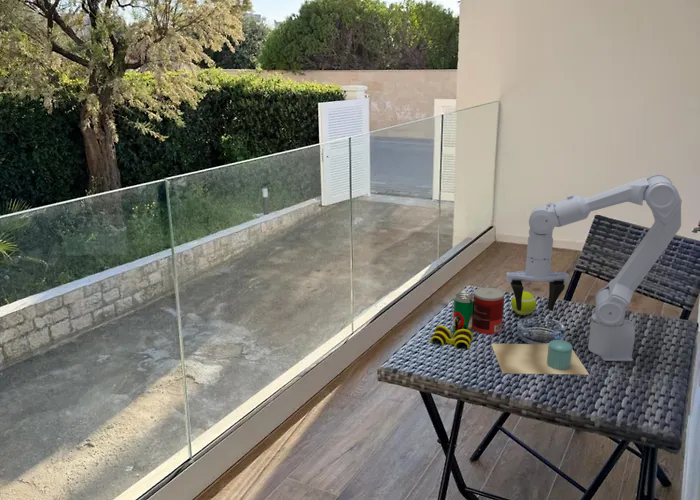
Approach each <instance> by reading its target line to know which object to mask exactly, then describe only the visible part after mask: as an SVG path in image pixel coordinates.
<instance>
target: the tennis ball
mask: <svg viewBox="0 0 700 500" xmlns="http://www.w3.org/2000/svg"><path fill="white" fill-rule="evenodd" d="M510 302H511V308H512V310H513V311H514V312H515V313H516V314H518V315H520V316H528V315H530V314H532V313H533V312H534V311H535V309H536V307H537V299H536V298H535V296H534V294H532V293H531V292H529V291H525V290H523V294H522V307H521V311H518V310H517V308H516V299H515V295H513V296H512V298H511V301H510Z"/></svg>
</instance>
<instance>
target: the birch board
mask: <svg viewBox="0 0 700 500" xmlns="http://www.w3.org/2000/svg"><path fill="white" fill-rule="evenodd" d="M548 346H549V343H548V344H547V343H544V344H543V343H491V347H492V349H493V353H494V355H495V358H496V360H497V362H498V365H499V367H500V368H499V369H500V371H501V373H502V374H511V375H512V374H514V375H515V374H517V375H518V374H519V375H520V374H521V375H525V374H526V375H528V374H529V375H577V376H578V375H586V376H589V375H590V373H589V372H588V370H587V369H586V367H585V366H584V364H583V362H581V360H580V359H579V357H578V355H577V354H576V353H575V351H574V350H573V348H572V357H571V366H570V368H569V369H566V370H557V369H553V368H551V367H549V366H548V365H547V355H548Z"/></svg>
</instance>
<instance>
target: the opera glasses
mask: <svg viewBox="0 0 700 500" xmlns="http://www.w3.org/2000/svg"><path fill="white" fill-rule="evenodd" d="M461 331H462V332H461ZM436 339H438V340H439V341H440V342H441V346H444V345H446V344H448V345H449V344H450V345H454V348H455V349H457V345H458V344H459V343H464V344H465V345H466V346H467V347H466V349H467V350H468V349H470V346H471V342H473V339H474V334H473V335H472V333H471V332H470V331H469V330H467V329H460V330H457V331H456V332H455V333H454V335H452V332H451V331H450V329H449V328H447V326H445V325H442V324H441V325H437V326H436V327H435V329H434V332H433V335H432V337H431V338H430V343H433V341H435V340H436Z"/></svg>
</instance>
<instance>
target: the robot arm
mask: <svg viewBox="0 0 700 500" xmlns="http://www.w3.org/2000/svg"><path fill="white" fill-rule="evenodd" d="M643 201H644V202H646V205H647V206H648V207H649V208H650V210H651V212H652V216H653V220H654V222H653V224H652V225H651V227H650V228H649V229H648V231H647V232H646V234H644V236H643V238H642V239H641V240H640V243H638V245H637V247H635V249H634V251H633V252H632V253H631V255H630V256H629V258H628V260H627V261H626V262H625V263H624V264H623V266H622V268H621V269H620V270H619V272H618V273H617V275H616V276H615V277H614V278H612V279H611V280H610V281H609V282H608V284H607V285H605V286H604V287H602V288H601V289H599V290H598V291H597V292H596V293H595V296H594V303H595V311H594V312H593V313H592V315H591V320H590V328H589V337H588V343H587V344H588V347H587V348H588V350H589V351H590V352H591V353H592V354H594V355H597V356H600V358H601V359H602V360H603V362H633V361H634V358H633V354H634V353H633V351H634V345H635V340H636V339H635V338H636V330H635V325H634V323H633V322H632V320H630V319H625V318H626V317H625V316H626V311H627V310H626V309H627V307H628V306H629V305H630V303H631V300H632V297H633V294H634V292H635V291H636V289H637V288H638V287H639V285H640V284H641V283H642V281H643V280H644V279H645V277H646V275H648V273H649V272H650V270H651V269H652V268H653V266H654V265H655V263H656V262H657V261H658V259H659V258H660V257H661V255H662V254H663V253H664V251H665V250H666V249H667V247H668V245H669V244H670V243H671V241H672V240H673V239H674V238H675V235H677V233H678V232H679V230H680V229H681V226H682V203H683V200H682V198H681V195H680V193H679V191H678V189H677V187H676V186H675V185H674V184H673V182H672V181H671V178H669V177H667V176H666V175H664V174H654V175H651V176H649V177H648V178H646V177H642V178H641V177H640V178H638V179H634V180H632V181H629V182H627V183H624V184H621V185H618V186H616V187H614V188H613V187H612V188H610V189H607V190H605V191H602V192H599V193H597V194H594V195H590V196H588V197H584V196H582V195H581V194H580V195H579V194H577V195H574V194H573V193H570V194H569V195H567V196H566V198H565V199H562V200H559V201H556V202H554V203H553V202H551V201H550V202H546V206H545V205H538V206H537V207H535V208H534V209H533V210H532V211H531V212H530V216H529V219H528V225H529V226H528V227H529V230H528V235H529V236H528V237H527V244H526V245H527V246H526V247H527V249H526V258H525V260H526V261H525V269H524V270H520V271H513V272H512V271H511V272H508V271H507V272H506V273H505V281H506V282H507V283H510V286H511V288H512V291H513V294H514V295H515V299H516V308H517V310H518V311H521V307H522V294H523V291H524V286H523V282H524V283H525V282H530V283H531V282H532V283H535V282H536V283H538V282H540V283H548V284H549V285H548V287H549V288H548V289H549V290H548V291H549V292H548V301H547V309H548V311H550V312H553V311H554V307H555V305H556V303H557V301H558V299H559V297H560V295H561V294H562V293H563V291H564V290H565V288H566V284H569V280H570V275H569V274H568V272H558V271H551V268H552V267H551V266H552V256H553V246H554V238H553V232H554V229H555V228H561V227H564V226H567V225H568V226H569V225H570V224H573V223H577V222H580V221H582V220H583V221H584V220H586V219H587V218H589V215H590V213H591V212H594V211H598V210H600V209H606V208H608V207H609V208H610V207H613V206H616V205H619V204H620V205H621V204H623V203H632V204H635V205H639V206H643V205H644V203H643ZM514 295H513V296H514Z"/></svg>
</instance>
